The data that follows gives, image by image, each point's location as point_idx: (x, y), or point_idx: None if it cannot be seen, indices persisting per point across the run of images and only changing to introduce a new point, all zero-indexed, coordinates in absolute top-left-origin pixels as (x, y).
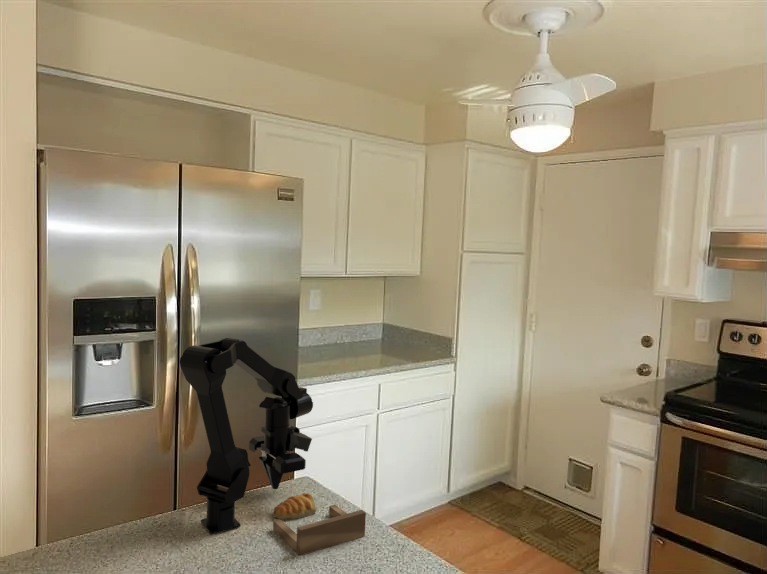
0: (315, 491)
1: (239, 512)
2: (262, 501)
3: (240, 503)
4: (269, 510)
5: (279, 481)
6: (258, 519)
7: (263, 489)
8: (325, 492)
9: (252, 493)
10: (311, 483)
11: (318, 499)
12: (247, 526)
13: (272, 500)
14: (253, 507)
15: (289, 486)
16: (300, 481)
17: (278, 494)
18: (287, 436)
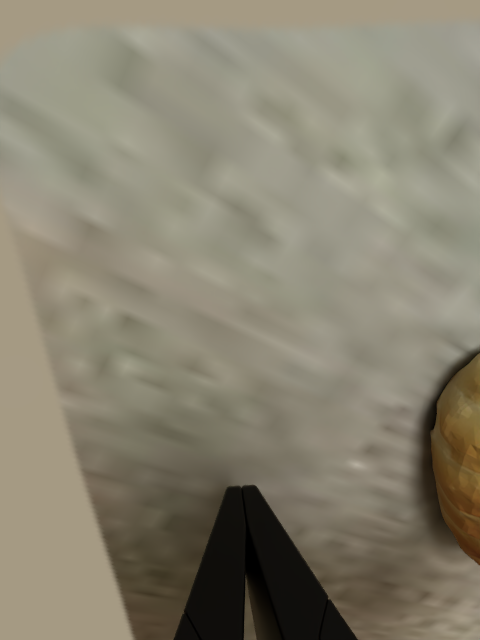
0: (336, 141)
1: None
2: None
3: None
4: (388, 527)
5: (290, 546)
6: (431, 583)
7: (96, 475)
8: (414, 58)
9: (130, 540)
10: (141, 59)
11: (477, 210)
12: (451, 624)
13: (287, 481)
14: None
15: (120, 299)
16: (42, 145)
17: (224, 424)
18: None
